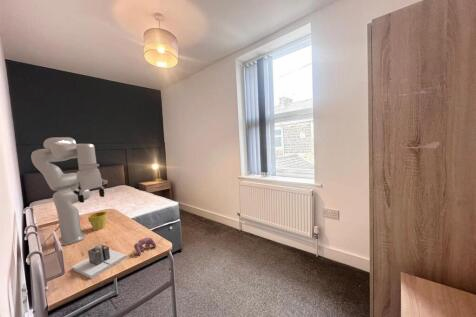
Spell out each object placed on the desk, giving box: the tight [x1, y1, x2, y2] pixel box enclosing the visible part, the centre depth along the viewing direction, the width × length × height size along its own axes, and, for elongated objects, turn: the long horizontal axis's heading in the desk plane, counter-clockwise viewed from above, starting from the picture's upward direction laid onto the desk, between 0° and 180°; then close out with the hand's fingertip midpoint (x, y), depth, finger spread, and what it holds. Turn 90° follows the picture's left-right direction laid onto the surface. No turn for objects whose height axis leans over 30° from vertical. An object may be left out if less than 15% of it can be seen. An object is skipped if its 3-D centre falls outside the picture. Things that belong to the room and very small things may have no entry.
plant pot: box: [87, 211, 108, 231], centre depth 135 cm, size 10×10×10 cm
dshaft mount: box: [71, 244, 127, 279], centre depth 95 cm, size 16×16×8 cm
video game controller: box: [133, 236, 157, 256], centre depth 105 cm, size 10×5×7 cm, turn 142°
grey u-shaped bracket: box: [87, 244, 110, 266], centre depth 95 cm, size 6×6×6 cm
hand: (92, 199), depth 104 cm, fingers open, 9 cm apart
